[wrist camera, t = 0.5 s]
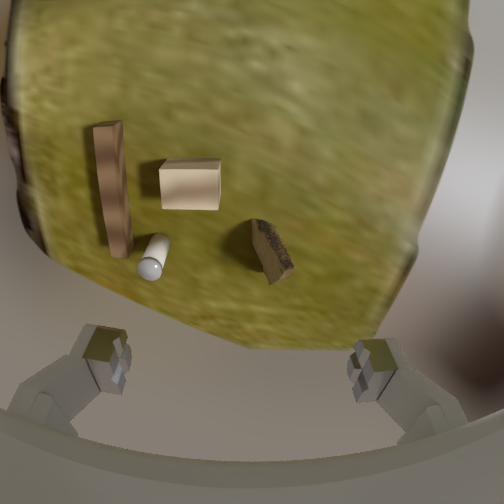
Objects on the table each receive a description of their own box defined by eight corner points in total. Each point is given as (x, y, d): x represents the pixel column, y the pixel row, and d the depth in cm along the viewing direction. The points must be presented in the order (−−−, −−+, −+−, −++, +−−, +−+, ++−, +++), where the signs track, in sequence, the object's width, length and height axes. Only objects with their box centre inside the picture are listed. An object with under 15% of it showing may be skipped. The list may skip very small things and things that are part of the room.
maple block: (167, 158, 42) (159, 169, 38) (221, 158, 43) (218, 169, 38) (169, 194, 46) (162, 208, 42) (220, 195, 46) (217, 210, 42)
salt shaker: (149, 231, 49) (135, 260, 43) (170, 232, 50) (159, 261, 43) (151, 250, 51) (139, 279, 45) (172, 251, 52) (162, 281, 45)
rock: (289, 288, 54) (317, 250, 48) (262, 312, 48) (290, 273, 41) (245, 249, 57) (266, 208, 50) (215, 268, 51) (234, 224, 44)
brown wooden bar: (104, 121, 38) (92, 127, 35) (122, 120, 38) (111, 126, 35) (119, 244, 51) (111, 257, 47) (134, 245, 51) (127, 258, 47)
